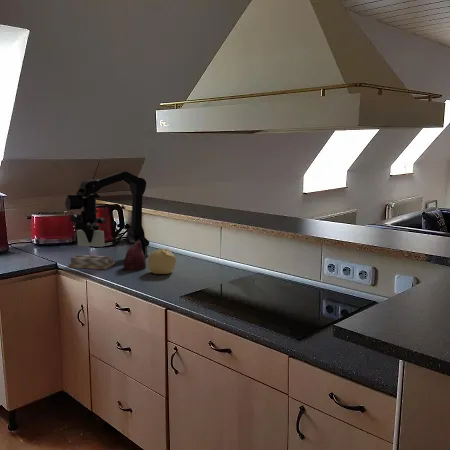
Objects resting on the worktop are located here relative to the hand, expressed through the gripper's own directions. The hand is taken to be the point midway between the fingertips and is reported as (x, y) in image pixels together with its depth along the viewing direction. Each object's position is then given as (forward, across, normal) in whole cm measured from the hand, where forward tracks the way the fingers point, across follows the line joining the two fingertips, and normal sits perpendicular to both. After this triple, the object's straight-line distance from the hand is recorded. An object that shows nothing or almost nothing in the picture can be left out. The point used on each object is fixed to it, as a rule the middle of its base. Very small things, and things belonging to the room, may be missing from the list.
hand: (91, 242), depth 222 cm
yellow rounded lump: (+12, +6, +36) cm, 38 cm away
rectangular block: (+2, 0, 0) cm, 2 cm away
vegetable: (+12, 0, +21) cm, 24 cm away
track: (+11, 0, 0) cm, 11 cm away
